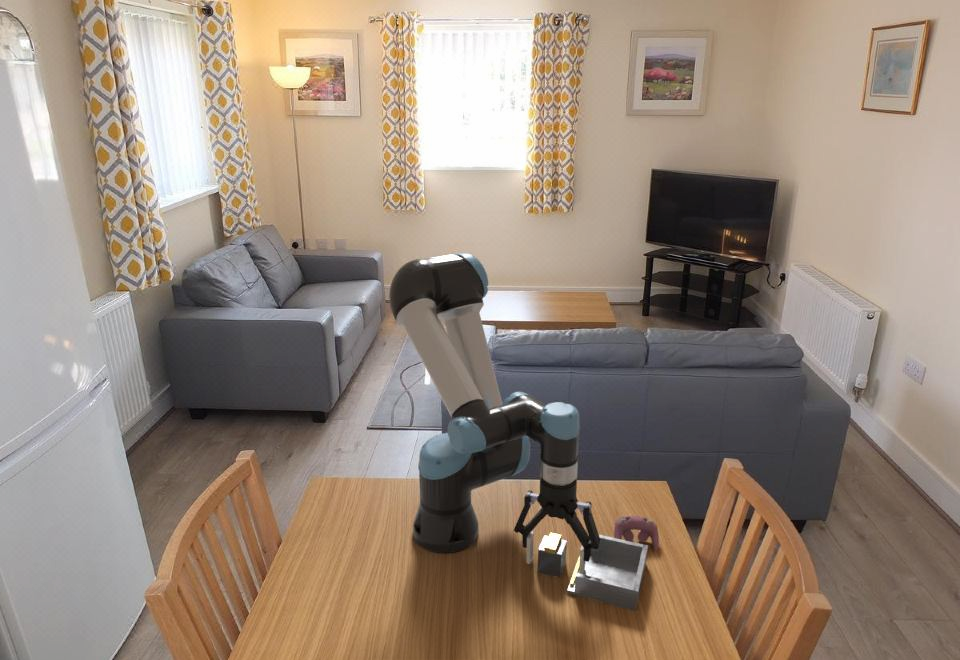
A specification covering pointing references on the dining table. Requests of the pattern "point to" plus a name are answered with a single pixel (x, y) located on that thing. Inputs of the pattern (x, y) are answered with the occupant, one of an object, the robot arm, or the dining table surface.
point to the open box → (612, 573)
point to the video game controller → (637, 523)
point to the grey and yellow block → (552, 555)
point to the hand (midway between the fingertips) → (555, 565)
